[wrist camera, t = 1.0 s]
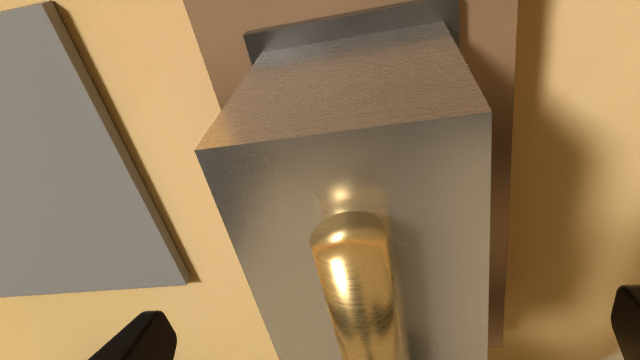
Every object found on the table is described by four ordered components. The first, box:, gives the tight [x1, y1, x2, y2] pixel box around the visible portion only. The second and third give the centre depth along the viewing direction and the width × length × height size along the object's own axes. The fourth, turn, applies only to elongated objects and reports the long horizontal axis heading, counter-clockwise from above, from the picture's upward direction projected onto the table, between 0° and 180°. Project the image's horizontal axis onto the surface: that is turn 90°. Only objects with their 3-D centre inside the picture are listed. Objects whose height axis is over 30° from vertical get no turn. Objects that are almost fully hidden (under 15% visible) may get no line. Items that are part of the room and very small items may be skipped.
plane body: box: [183, 0, 518, 347], centre depth 14 cm, size 18×8×2 cm, turn 12°
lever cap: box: [194, 21, 492, 360], centre depth 10 cm, size 8×4×6 cm, turn 12°
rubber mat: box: [0, 0, 191, 297], centre depth 17 cm, size 12×10×1 cm
